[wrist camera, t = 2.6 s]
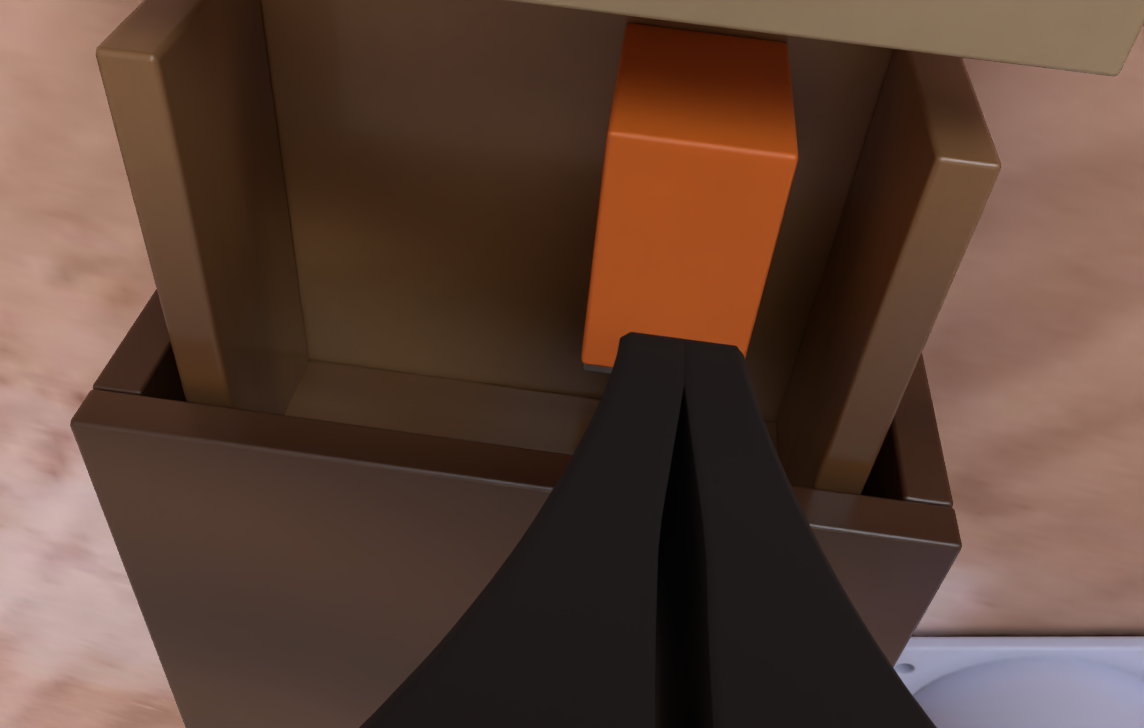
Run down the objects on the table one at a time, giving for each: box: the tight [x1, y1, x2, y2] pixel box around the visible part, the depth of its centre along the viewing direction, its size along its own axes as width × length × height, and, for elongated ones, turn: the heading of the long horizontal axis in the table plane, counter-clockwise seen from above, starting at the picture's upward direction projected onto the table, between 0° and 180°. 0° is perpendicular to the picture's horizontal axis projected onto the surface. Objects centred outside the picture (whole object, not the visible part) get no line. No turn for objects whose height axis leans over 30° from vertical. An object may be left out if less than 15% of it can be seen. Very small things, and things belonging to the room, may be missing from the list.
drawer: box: [96, 0, 1144, 495], centre depth 14 cm, size 16×12×5 cm
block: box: [581, 23, 799, 374], centre depth 16 cm, size 6×2×3 cm, turn 176°
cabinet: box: [70, 289, 962, 728], centre depth 22 cm, size 13×14×7 cm
